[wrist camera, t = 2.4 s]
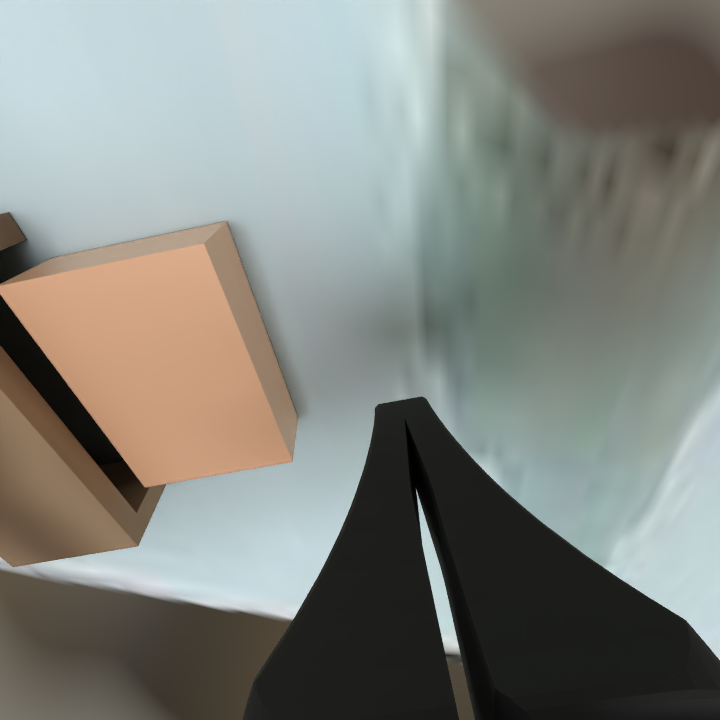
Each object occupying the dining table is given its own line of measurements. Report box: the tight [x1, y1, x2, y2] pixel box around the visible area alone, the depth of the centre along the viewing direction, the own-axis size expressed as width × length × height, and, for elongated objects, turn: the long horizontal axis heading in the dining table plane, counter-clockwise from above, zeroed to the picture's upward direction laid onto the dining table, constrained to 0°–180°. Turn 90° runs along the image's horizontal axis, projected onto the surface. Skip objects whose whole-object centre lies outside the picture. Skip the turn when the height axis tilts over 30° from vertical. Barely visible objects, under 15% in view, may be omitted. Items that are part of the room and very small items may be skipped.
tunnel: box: [0, 213, 166, 567], centre depth 16 cm, size 6×14×5 cm, turn 10°
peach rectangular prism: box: [0, 221, 298, 487], centre depth 16 cm, size 7×10×3 cm
